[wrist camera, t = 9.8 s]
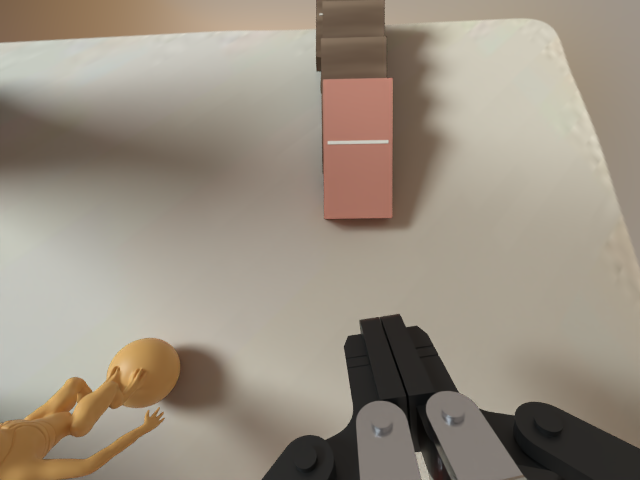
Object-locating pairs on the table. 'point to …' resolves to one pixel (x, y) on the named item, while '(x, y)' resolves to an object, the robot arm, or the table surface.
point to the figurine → (89, 414)
